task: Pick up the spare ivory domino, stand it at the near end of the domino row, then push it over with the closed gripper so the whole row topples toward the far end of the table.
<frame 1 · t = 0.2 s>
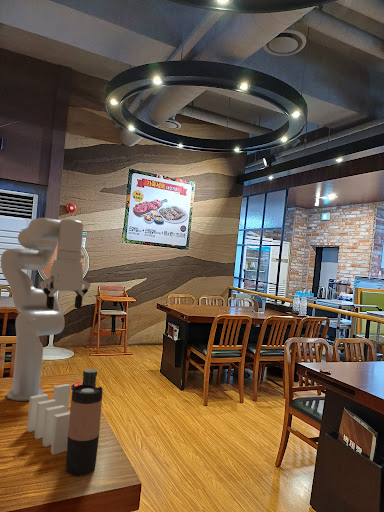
hand: (64, 308, 126), 36 cm above the table, tool pointing down, fingers open, 9 cm apart
sauce bottle: (83, 439, 112), on the table
domino 3: (52, 443, 108), on the table
travel mug: (80, 469, 96), on the table
domino 1: (36, 429, 115), on the table
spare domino: (59, 415, 126), on the table
domino 2: (43, 435, 111), on the table
domino 4: (60, 451, 104), on the table
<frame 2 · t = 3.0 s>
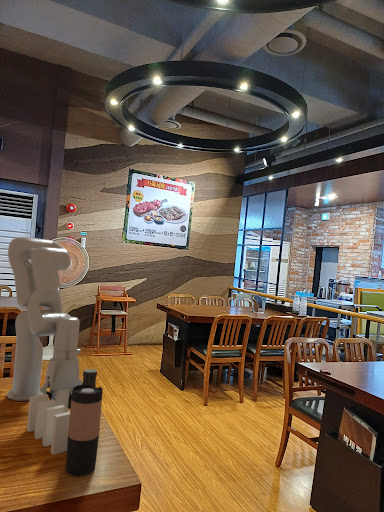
hand: (60, 408, 126), 2 cm above the table, tool pointing down, fingers closed on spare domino, 4 cm apart
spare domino: (59, 415, 126), on the table, touching gripper
everything else where it was.
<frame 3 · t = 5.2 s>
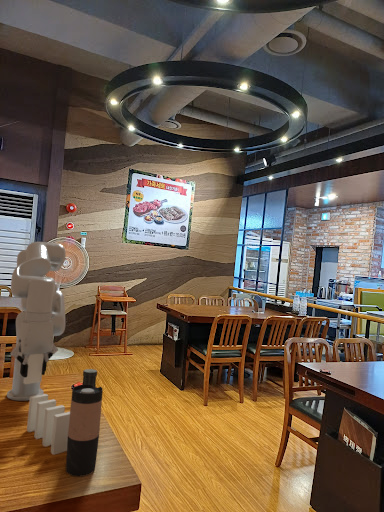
hand: (33, 374, 120), 15 cm above the table, tool pointing down, fingers closed on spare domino, 4 cm apart
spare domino: (32, 382, 120), point 12 cm above the table, touching gripper
everything else where it was.
when the fingers open (3 cm above the table, at t = 7.7 s): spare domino stays where it is, on the table.
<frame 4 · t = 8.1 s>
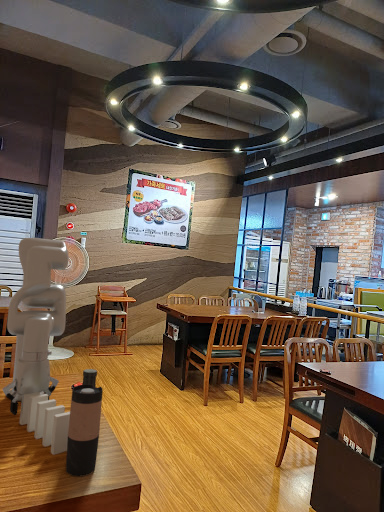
hand: (29, 410, 120), 4 cm above the table, tool pointing down, fingers open, 9 cm apart
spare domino: (28, 422, 120), on the table
everything else where it was.
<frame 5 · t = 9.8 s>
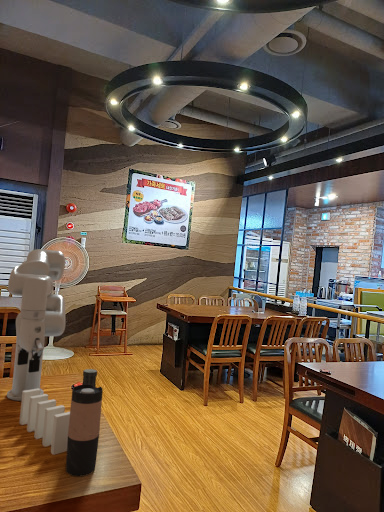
hand: (27, 367, 123), 16 cm above the table, tool pointing down, fingers open, 8 cm apart
nothing on the table moved.
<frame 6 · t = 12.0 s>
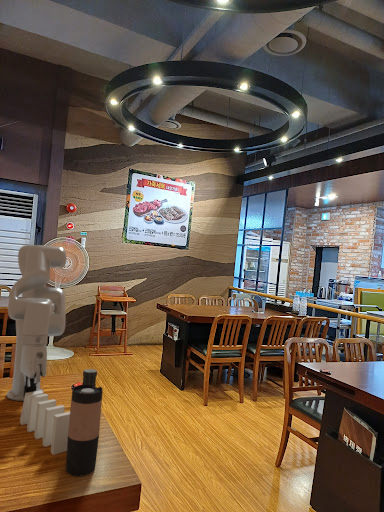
hand: (29, 397, 120), 7 cm above the table, tool pointing down, fingers closed
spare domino: (28, 421, 120), on the table, tilted 14°
everything else where it was.
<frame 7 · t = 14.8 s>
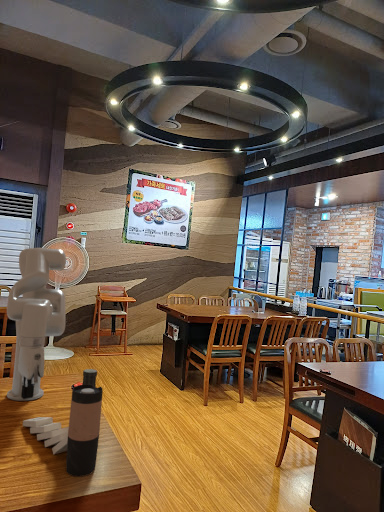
hand: (27, 397, 123), 7 cm above the table, tool pointing down, fingers closed
domino 3: (53, 441, 107), point 1 cm above the table, tilted 59°, touching domino 2, domino 4
travel mug: (80, 469, 96), on the table, touching domino 4
domino 1: (38, 428, 114), point 1 cm above the table, tilted 68°, touching domino 2, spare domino
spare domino: (31, 421, 119), point 1 cm above the table, tilted 72°, touching domino 1
domino 2: (45, 435, 110), point 1 cm above the table, tilted 65°, touching domino 1, domino 3
domino 4: (61, 449, 104), point 1 cm above the table, tilted 50°, touching domino 3, travel mug
everything else where it was.
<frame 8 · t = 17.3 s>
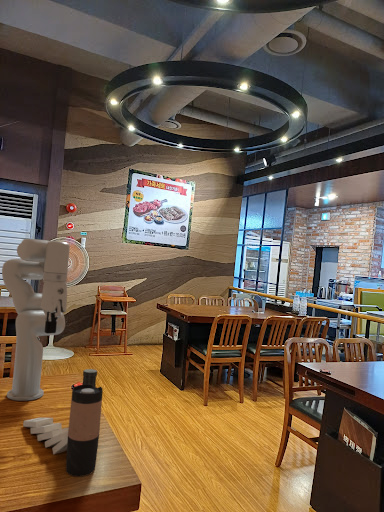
hand: (50, 332, 127), 27 cm above the table, tool pointing down, fingers closed
at the end: domino 4 tilted 51°; domino 1 tilted 68°; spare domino moved 10.0 cm from its start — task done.
